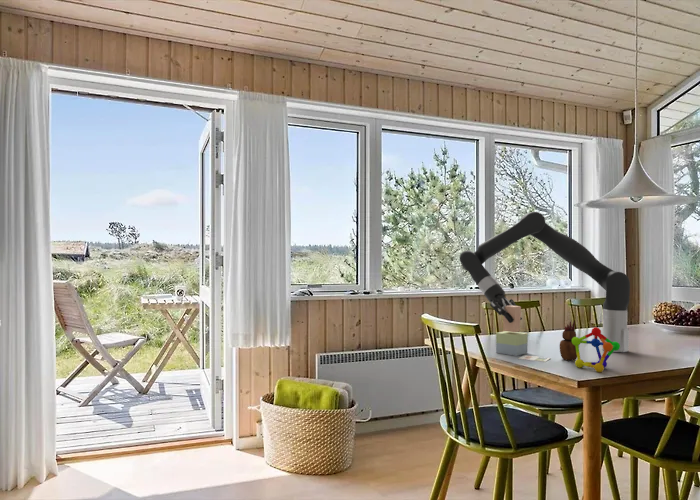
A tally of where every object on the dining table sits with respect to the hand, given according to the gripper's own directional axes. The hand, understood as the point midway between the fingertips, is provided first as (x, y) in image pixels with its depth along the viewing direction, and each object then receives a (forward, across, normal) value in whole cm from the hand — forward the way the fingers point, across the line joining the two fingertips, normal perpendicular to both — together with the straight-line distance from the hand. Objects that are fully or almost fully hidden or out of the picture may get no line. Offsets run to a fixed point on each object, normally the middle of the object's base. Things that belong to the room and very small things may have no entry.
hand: (516, 320), depth 223 cm
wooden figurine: (+23, +5, -5) cm, 24 cm away
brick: (+2, 0, +4) cm, 5 cm away
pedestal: (+8, 0, +10) cm, 13 cm away
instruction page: (+17, -4, +2) cm, 17 cm away
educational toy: (+33, -3, -14) cm, 36 cm away
